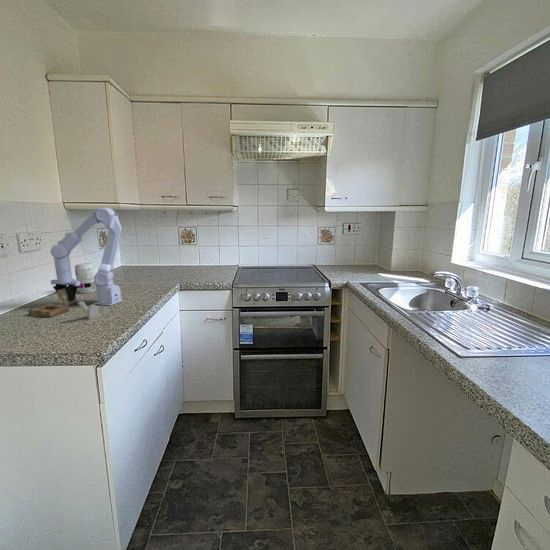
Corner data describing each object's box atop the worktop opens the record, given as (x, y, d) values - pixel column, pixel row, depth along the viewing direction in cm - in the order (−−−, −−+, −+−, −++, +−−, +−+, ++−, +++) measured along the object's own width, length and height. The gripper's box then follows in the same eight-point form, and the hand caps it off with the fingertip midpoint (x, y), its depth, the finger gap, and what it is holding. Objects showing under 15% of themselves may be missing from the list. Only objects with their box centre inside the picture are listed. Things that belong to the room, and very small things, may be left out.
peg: (76, 303, 144) (74, 287, 143) (65, 307, 139) (62, 290, 137) (71, 303, 145) (69, 286, 143) (60, 307, 139) (57, 290, 138)
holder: (69, 311, 133) (68, 305, 133) (50, 317, 125) (49, 312, 125) (48, 309, 136) (47, 304, 136) (29, 315, 128) (28, 309, 128)
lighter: (96, 315, 128) (94, 296, 126) (99, 316, 127) (97, 297, 126) (80, 320, 122) (77, 301, 120) (83, 321, 121) (80, 302, 119)
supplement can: (75, 294, 161) (71, 265, 158) (81, 290, 168) (77, 263, 165) (93, 293, 163) (89, 265, 160) (97, 289, 171) (94, 262, 167)
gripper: (84, 270, 140) (88, 298, 143) (59, 268, 144) (63, 296, 147) (70, 273, 134) (74, 303, 137) (44, 271, 137) (49, 301, 140)
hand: (67, 300), depth 141 cm, fingers open, 4 cm apart
